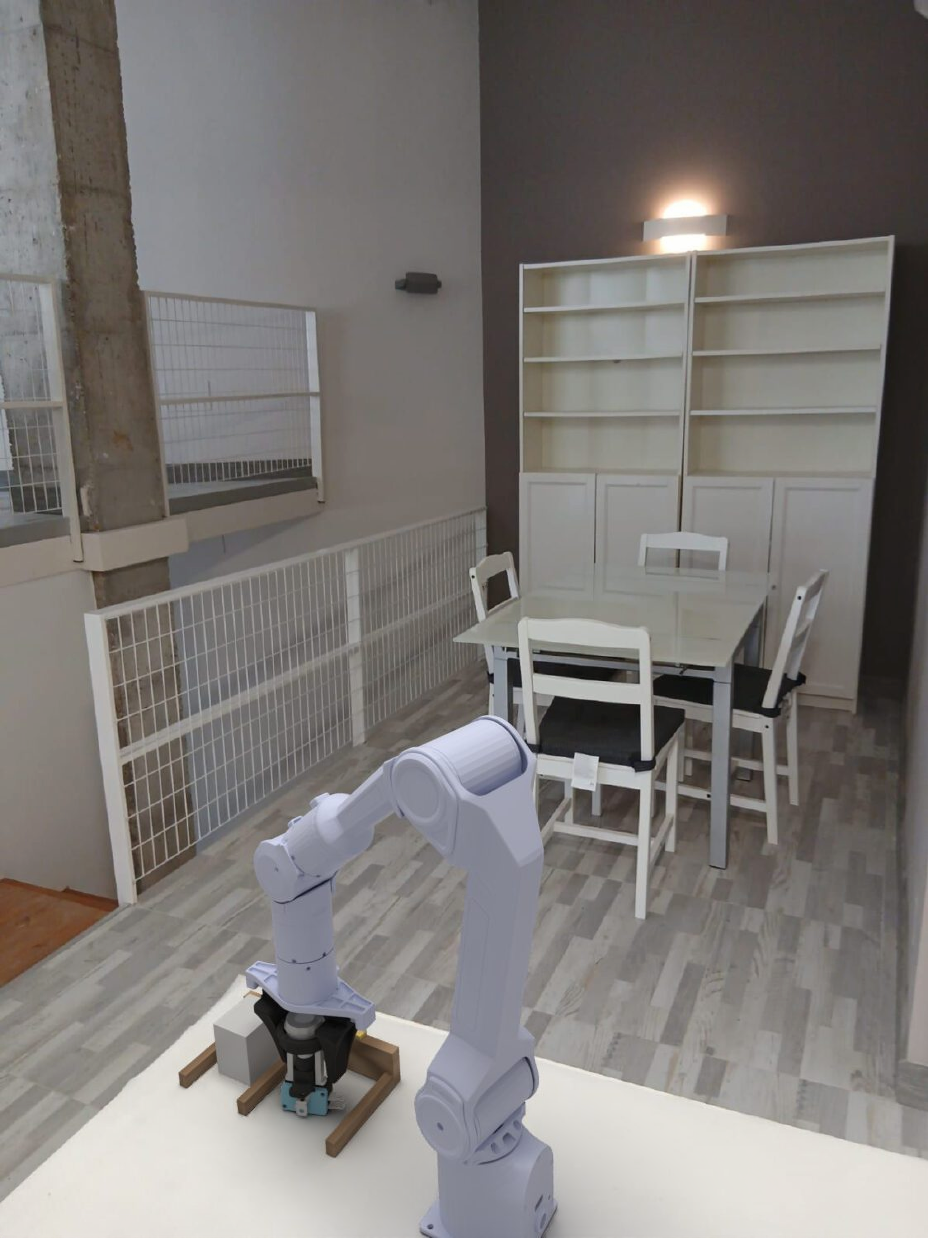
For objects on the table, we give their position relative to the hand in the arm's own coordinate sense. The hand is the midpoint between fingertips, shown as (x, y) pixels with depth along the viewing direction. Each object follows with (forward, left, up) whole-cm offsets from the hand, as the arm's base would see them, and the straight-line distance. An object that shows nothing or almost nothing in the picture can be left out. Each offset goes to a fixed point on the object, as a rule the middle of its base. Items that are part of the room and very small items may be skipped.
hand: (314, 1066), depth 92 cm
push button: (0, +1, -4) cm, 4 cm away
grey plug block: (+9, -1, -4) cm, 10 cm away
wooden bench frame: (+4, 0, -4) cm, 6 cm away
